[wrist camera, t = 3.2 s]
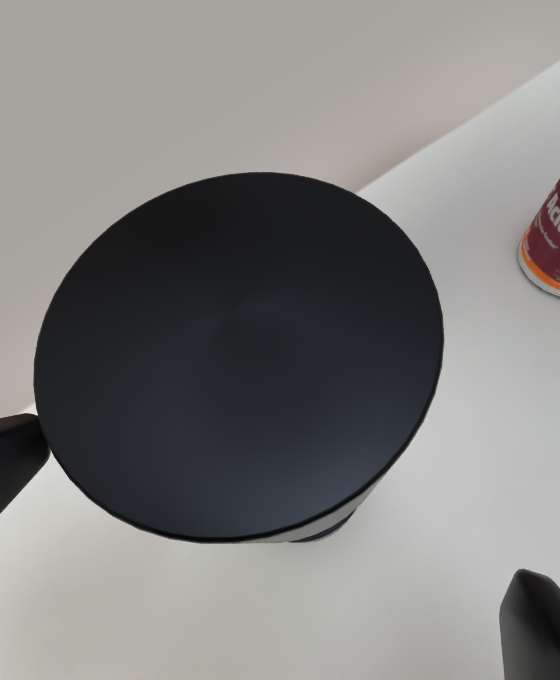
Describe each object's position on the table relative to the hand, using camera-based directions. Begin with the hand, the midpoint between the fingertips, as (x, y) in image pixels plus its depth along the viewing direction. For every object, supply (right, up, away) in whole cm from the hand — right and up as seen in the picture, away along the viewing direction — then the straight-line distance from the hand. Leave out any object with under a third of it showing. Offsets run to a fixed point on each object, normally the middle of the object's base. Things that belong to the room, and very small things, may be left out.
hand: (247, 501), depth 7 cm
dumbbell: (+2, -3, +9) cm, 9 cm away
